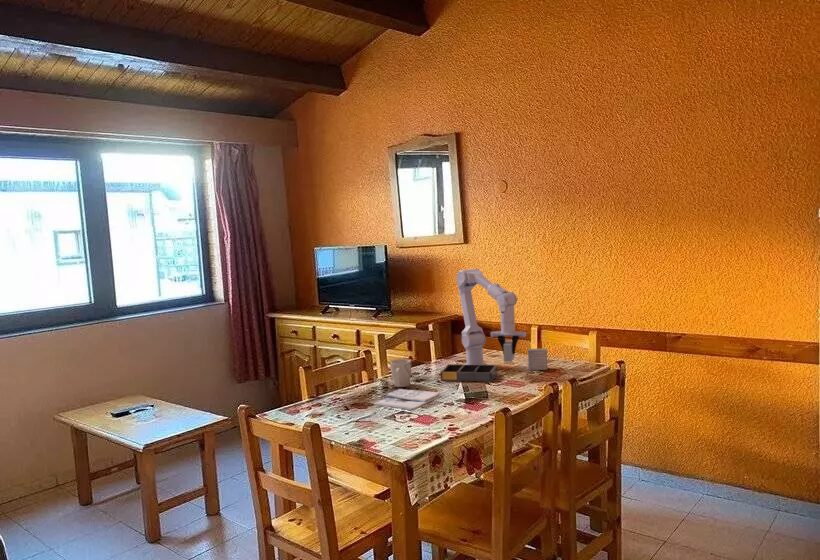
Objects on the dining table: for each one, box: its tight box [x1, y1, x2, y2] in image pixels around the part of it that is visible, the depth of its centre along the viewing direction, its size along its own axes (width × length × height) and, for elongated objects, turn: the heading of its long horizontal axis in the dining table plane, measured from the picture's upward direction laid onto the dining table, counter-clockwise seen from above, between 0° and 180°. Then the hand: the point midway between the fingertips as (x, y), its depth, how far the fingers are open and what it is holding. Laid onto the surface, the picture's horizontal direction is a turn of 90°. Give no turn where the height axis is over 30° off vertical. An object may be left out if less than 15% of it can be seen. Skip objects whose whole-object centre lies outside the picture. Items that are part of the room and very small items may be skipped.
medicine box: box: [527, 348, 549, 371], centre depth 265 cm, size 8×4×9 cm, turn 84°
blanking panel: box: [503, 340, 515, 363], centre depth 256 cm, size 9×3×7 cm, turn 163°
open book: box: [373, 388, 442, 411], centre depth 229 cm, size 19×20×2 cm
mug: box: [390, 358, 412, 388], centre depth 249 cm, size 11×8×10 cm
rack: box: [440, 363, 498, 383], centre depth 258 cm, size 14×21×4 cm, turn 73°
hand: (509, 353), depth 256 cm, fingers closed on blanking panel, 3 cm apart
